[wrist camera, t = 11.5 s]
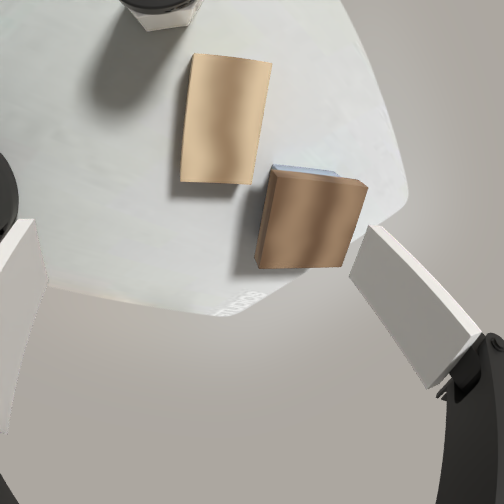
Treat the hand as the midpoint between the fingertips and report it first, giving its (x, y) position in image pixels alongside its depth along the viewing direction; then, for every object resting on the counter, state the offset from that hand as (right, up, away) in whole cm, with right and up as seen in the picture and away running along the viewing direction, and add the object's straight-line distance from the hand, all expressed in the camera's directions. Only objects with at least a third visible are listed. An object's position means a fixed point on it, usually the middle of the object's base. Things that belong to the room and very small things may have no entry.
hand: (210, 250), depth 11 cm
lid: (+8, +4, +27) cm, 29 cm away
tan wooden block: (-2, +16, +21) cm, 27 cm away
